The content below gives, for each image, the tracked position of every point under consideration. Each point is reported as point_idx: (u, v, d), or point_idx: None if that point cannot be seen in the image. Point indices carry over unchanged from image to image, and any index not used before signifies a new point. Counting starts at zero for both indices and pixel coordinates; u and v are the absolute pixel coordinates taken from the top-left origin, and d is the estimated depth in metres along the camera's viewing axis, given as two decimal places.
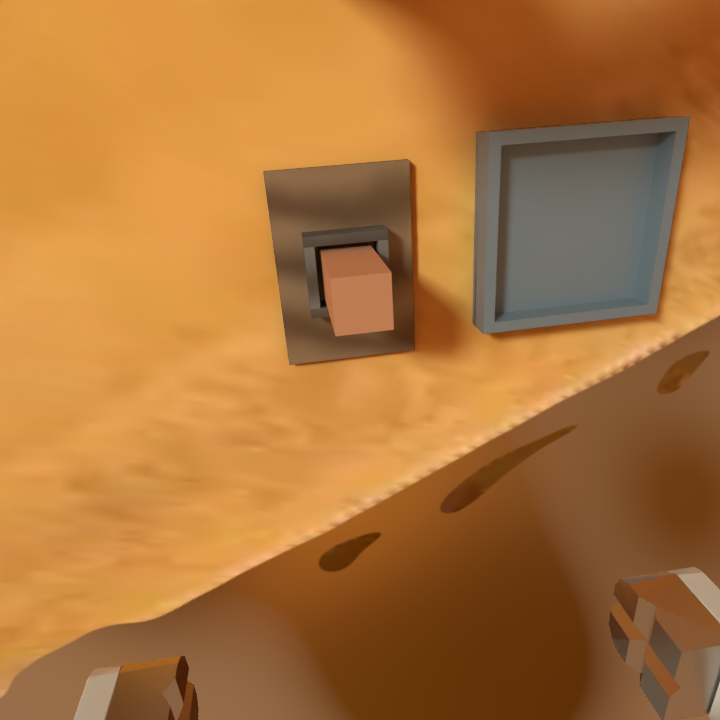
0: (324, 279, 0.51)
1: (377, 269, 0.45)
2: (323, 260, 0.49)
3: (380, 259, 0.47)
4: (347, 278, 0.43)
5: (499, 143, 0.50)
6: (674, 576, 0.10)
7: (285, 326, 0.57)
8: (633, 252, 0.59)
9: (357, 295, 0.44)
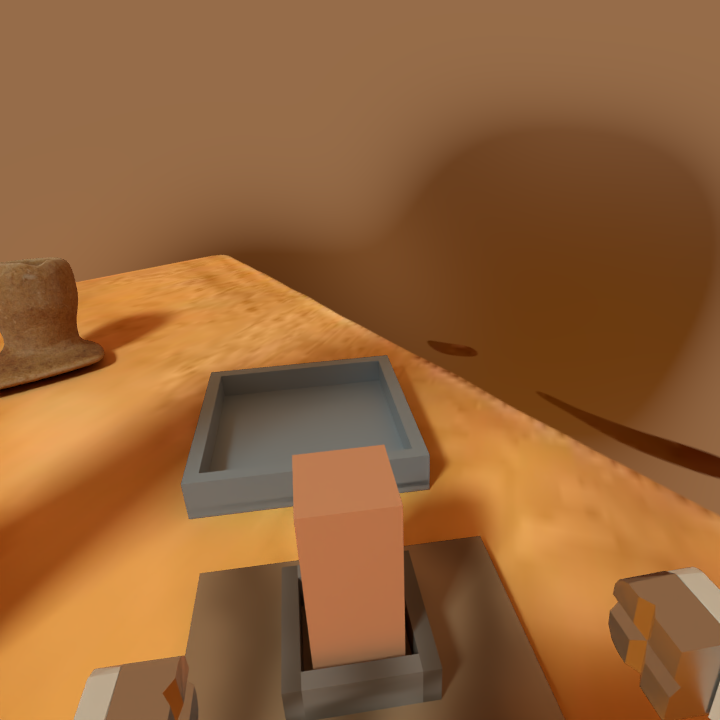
0: (354, 635, 0.28)
1: None
2: (309, 622, 0.27)
3: None
4: (296, 499, 0.25)
5: (195, 475, 0.43)
6: (673, 576, 0.10)
7: None
8: (333, 388, 0.61)
9: (326, 485, 0.26)
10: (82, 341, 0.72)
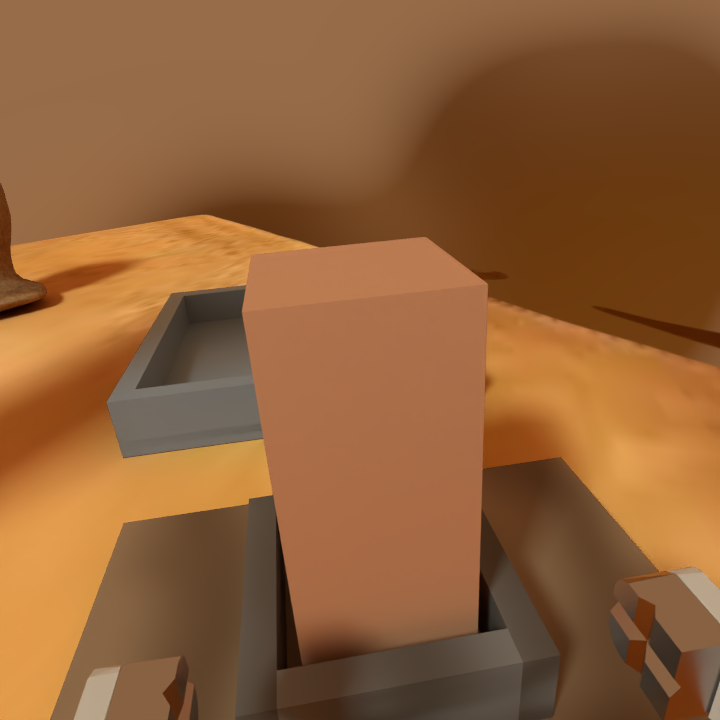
0: (380, 595, 0.14)
1: None
2: (290, 568, 0.13)
3: None
4: (251, 291, 0.12)
5: (130, 391, 0.29)
6: (674, 576, 0.10)
7: None
8: None
9: (317, 275, 0.13)
10: (18, 277, 0.58)
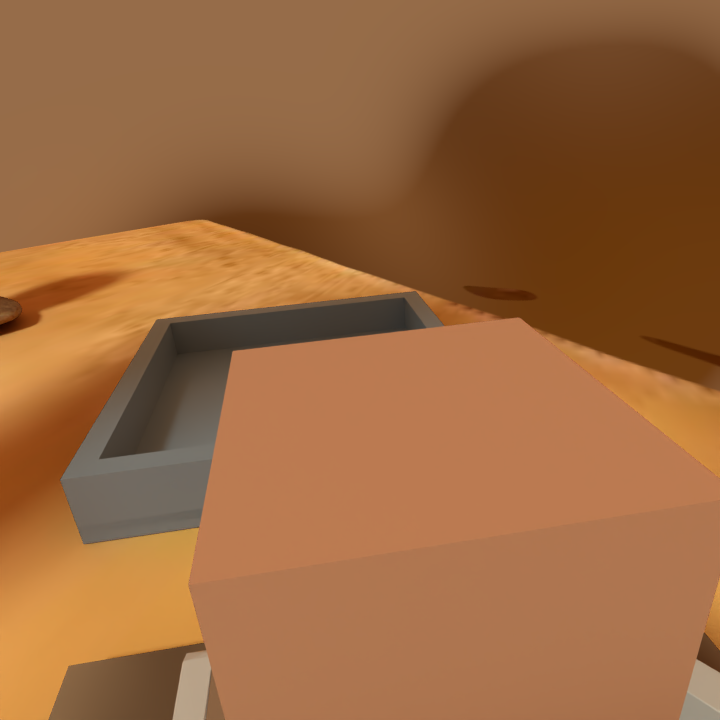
0: None
1: None
2: None
3: None
4: (220, 481, 0.06)
5: (92, 462, 0.23)
6: None
7: None
8: None
9: (351, 427, 0.06)
10: None
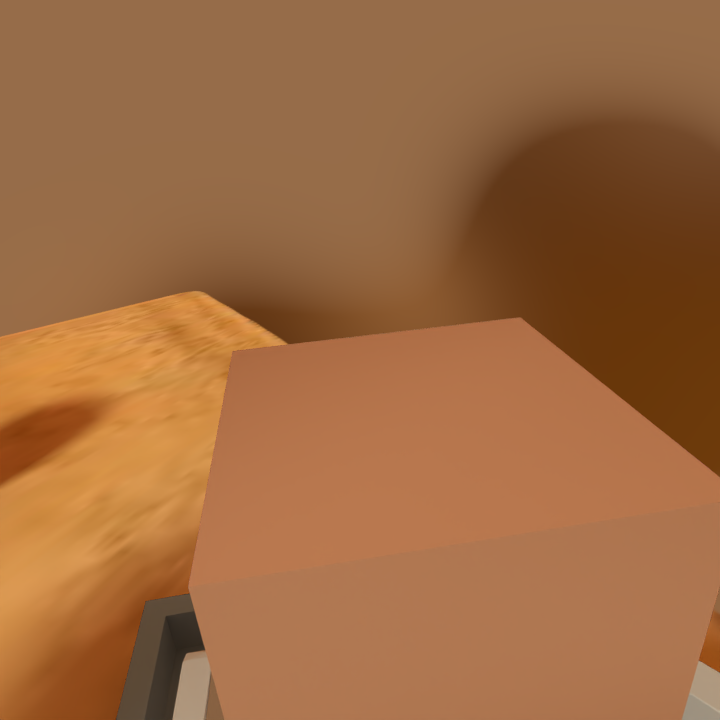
0: None
1: None
2: None
3: None
4: (219, 483, 0.06)
5: None
6: None
7: None
8: None
9: (352, 428, 0.06)
10: None
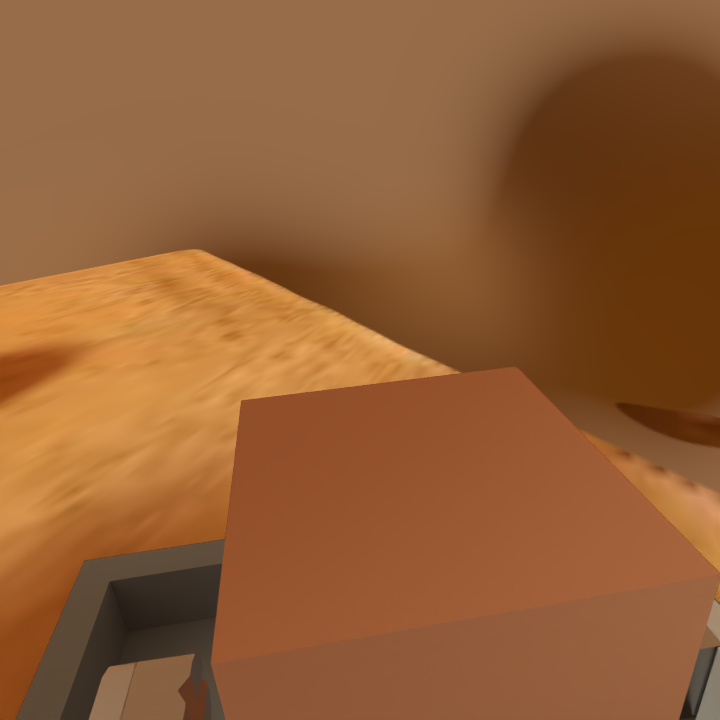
0: None
1: None
2: None
3: None
4: (235, 550, 0.06)
5: None
6: None
7: None
8: None
9: (357, 492, 0.07)
10: None
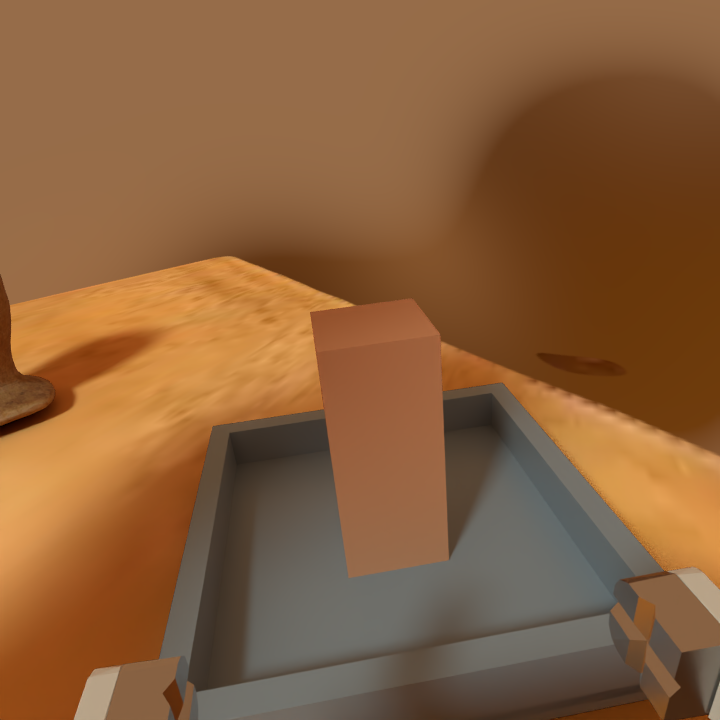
0: (389, 507, 0.25)
1: None
2: (338, 490, 0.24)
3: None
4: (317, 339, 0.22)
5: None
6: (674, 576, 0.10)
7: None
8: None
9: (350, 328, 0.23)
10: (21, 378, 0.48)
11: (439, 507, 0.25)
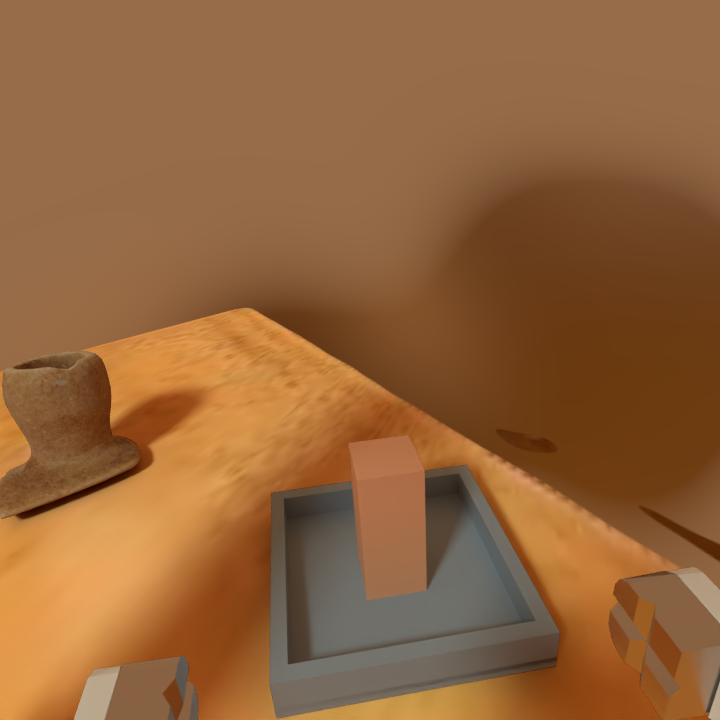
0: (392, 560, 0.42)
1: (350, 462, 0.43)
2: (364, 551, 0.41)
3: (352, 488, 0.45)
4: (356, 469, 0.40)
5: (284, 667, 0.36)
6: (674, 576, 0.10)
7: None
8: None
9: (374, 460, 0.41)
10: (116, 441, 0.65)
11: (421, 560, 0.43)
